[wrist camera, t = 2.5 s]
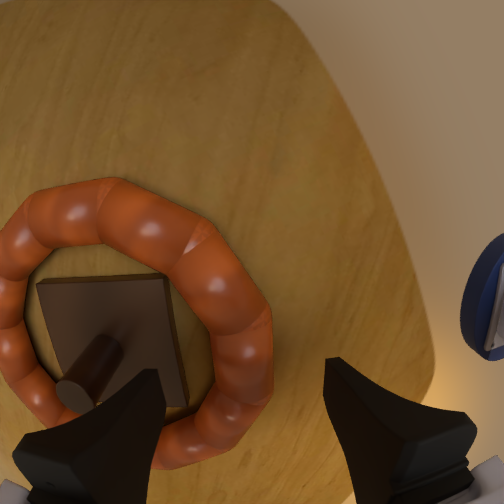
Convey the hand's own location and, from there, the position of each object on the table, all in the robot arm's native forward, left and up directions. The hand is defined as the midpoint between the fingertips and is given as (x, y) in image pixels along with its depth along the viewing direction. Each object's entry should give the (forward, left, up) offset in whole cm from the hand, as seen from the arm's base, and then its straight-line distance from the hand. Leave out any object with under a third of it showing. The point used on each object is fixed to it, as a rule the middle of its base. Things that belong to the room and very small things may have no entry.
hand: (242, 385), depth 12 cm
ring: (+7, 0, -3) cm, 8 cm away
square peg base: (+7, 0, -4) cm, 9 cm away
